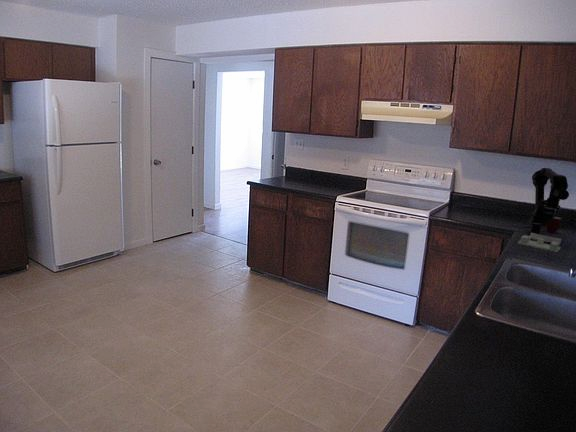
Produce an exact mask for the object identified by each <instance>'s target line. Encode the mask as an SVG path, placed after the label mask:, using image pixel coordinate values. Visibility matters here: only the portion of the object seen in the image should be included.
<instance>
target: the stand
mask: <svg viewBox="0 0 576 432" xmlns="http://www.w3.org/2000/svg"><path fill="white" fill-rule="evenodd" d="M529 237H530V235H525V234H524V235H522V236H520V240H519V241H517V245H522V246H527V247H530V246H531V247H532V248H535V249H539V248H540V249H539V250H543V249H544V251H548V250H550V251H549V252H552V251H554V252H553V253H556V252H557V253H558V252H559V251H560V250H561V248H562V247H561V246H560V245H559V243H558V242H552V243H550V244H548V243H545V241H544V239H542V238H538V239H537V240H531V239H530V240H529ZM558 245H559V246H558Z"/></svg>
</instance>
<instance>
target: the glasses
mask: <svg viewBox="0 0 576 432" xmlns="http://www.w3.org/2000/svg"><path fill="white" fill-rule="evenodd" d="M540 234H541V233H540ZM540 234H535V233H531V234H529V236H530V237H529V240H531V239H532V240H533V241H537V239H538V238H542V239H544V243H545V242H546V243H549V242H550V244H551V243H552V242H558V243H559V245H558V247H560V245H561V242H562V238H557V237H553V236H549V235H545V234H541V235H540Z"/></svg>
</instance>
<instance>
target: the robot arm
mask: <svg viewBox="0 0 576 432" xmlns="http://www.w3.org/2000/svg"><path fill="white" fill-rule="evenodd" d="M531 180H532V184H533V186H534V190H535V191H534V192H535V193H534V194H535V197H534V199H535V200H534V203H535V204H534V205H535V206H534V207H535V208H534V211H533V212H532V213H531V214H532V215H531V216H530V217H529V219H528V221H527V222H528V224H529V225H530V229H529V232H527V233H528V235H530V234H531V233H535V234H540V235H542V233H541V230H542V227H546V224H549V222H551V221H552V220H553V219H554V217H557V216H556V215H558V213H559V212H560V211H561V205H560V201H561V200H562V201H566V200H567V199H568V198H569V197H570V192H569V191H568V190H567V189H568V187H569V184H568V183H569V182H568V179H567V177H566V175H563V174H558V173H557V172H555V171H554V170H552V169H551V168H548V167H542V168H541V169H540V170H537V171H534V173H533V174H532V176H531ZM548 181H549V182H550V183H549V184H550V186H549V188H550V190H549V193H548V197H547V198H546V199H545V186H546V185H547V183H548Z"/></svg>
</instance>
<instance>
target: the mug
mask: <svg viewBox="0 0 576 432" xmlns="http://www.w3.org/2000/svg"><path fill="white" fill-rule="evenodd" d="M561 223H562V217H559V216H555V217H554V219H553V220H552V221H551V222H549V224H546V225H545V228H546V231H547V232H546V233H550V234H556V232H557V231H558V230H559V227H560V225H561Z"/></svg>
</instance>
